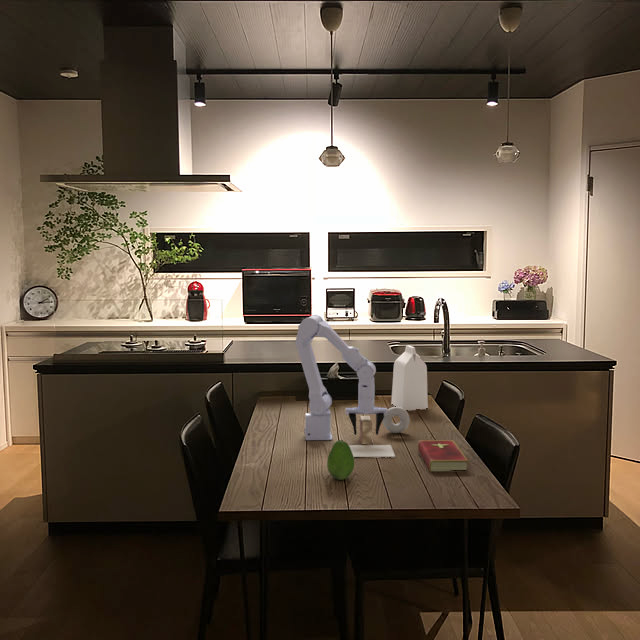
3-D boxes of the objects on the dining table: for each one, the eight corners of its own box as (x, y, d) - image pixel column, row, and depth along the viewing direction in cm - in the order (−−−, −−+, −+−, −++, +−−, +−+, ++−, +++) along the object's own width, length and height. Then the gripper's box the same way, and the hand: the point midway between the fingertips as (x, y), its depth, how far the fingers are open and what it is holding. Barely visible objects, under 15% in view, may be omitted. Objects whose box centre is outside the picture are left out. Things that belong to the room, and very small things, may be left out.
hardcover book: (429, 473, 209) (429, 459, 208) (417, 451, 230) (418, 439, 229) (467, 472, 209) (468, 459, 209) (452, 451, 230) (453, 439, 230)
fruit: (338, 472, 208) (338, 434, 207) (359, 478, 203) (359, 439, 202) (321, 479, 202) (322, 440, 201) (343, 485, 197) (343, 445, 196)
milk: (391, 404, 293) (392, 344, 289) (415, 402, 296) (416, 343, 293) (402, 410, 281) (403, 349, 278) (427, 408, 285) (429, 348, 281)
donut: (382, 434, 248) (383, 407, 247) (381, 431, 251) (382, 405, 250) (410, 434, 248) (410, 407, 247) (408, 431, 252) (409, 405, 250)
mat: (346, 457, 221) (346, 456, 221) (344, 446, 233) (344, 445, 233) (395, 457, 222) (395, 456, 222) (390, 446, 234) (390, 444, 234)
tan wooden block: (361, 444, 236) (361, 422, 235) (359, 437, 244) (359, 415, 243) (371, 444, 236) (371, 422, 235) (369, 437, 245) (369, 415, 244)
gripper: (346, 399, 234) (346, 437, 236) (388, 399, 234) (387, 437, 236) (345, 394, 241) (345, 431, 243) (385, 394, 241) (385, 431, 243)
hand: (366, 433), depth 240 cm, fingers open, 7 cm apart
